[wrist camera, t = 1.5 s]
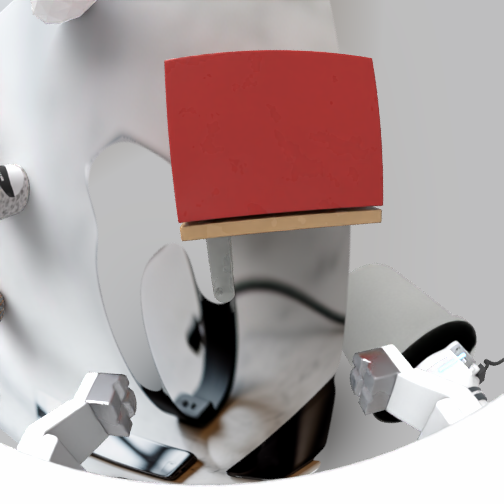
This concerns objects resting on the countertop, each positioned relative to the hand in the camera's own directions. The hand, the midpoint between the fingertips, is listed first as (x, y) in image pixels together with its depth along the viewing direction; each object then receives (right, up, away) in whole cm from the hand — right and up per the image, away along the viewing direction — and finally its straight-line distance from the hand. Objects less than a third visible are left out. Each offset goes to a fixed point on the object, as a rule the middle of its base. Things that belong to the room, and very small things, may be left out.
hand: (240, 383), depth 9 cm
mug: (-32, +14, +17) cm, 39 cm away
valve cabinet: (+1, +16, +19) cm, 25 cm away
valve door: (+1, +8, +22) cm, 23 cm away
